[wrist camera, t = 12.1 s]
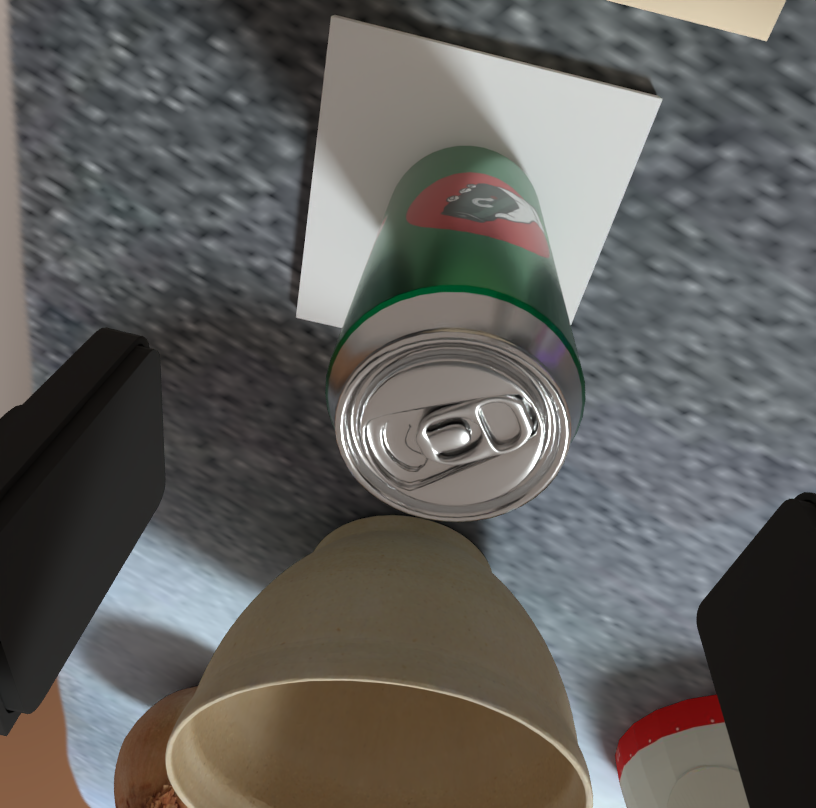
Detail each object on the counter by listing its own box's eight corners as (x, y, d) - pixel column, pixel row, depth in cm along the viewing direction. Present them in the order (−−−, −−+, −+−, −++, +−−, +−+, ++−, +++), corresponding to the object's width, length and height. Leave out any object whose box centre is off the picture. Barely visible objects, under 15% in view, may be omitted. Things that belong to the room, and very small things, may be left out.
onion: (197, 631, 43) (88, 726, 33) (321, 695, 41) (244, 815, 31) (163, 743, 45) (51, 862, 35) (279, 808, 43) (195, 952, 34)
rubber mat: (335, 14, 19) (331, 15, 18) (657, 95, 19) (662, 99, 19) (299, 310, 25) (295, 317, 24) (548, 367, 25) (550, 376, 24)
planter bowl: (436, 700, 39) (423, 916, 30) (201, 585, 35) (105, 797, 26) (632, 567, 31) (693, 811, 22) (355, 396, 27) (292, 612, 18)
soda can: (363, 179, 21) (261, 371, 11) (510, 113, 19) (543, 268, 9) (424, 309, 23) (385, 559, 13) (559, 259, 22) (625, 501, 12)
